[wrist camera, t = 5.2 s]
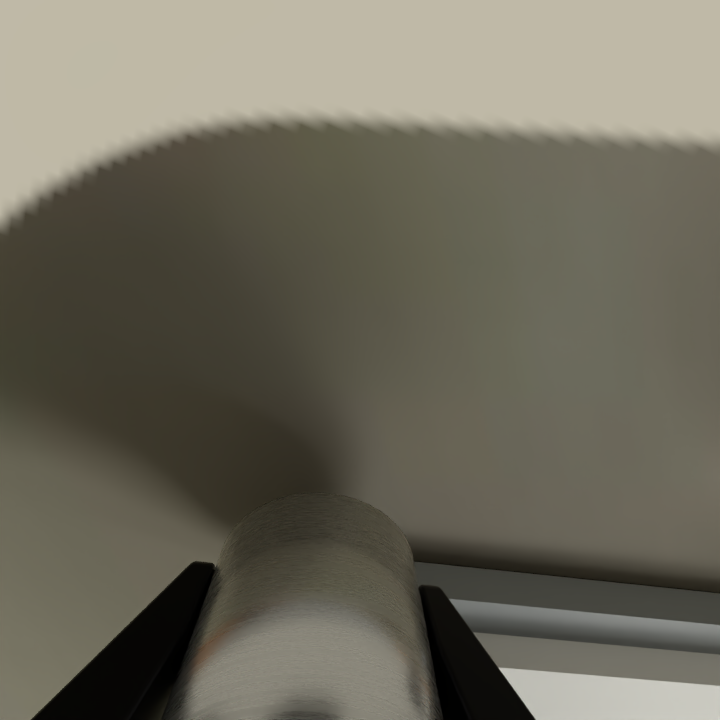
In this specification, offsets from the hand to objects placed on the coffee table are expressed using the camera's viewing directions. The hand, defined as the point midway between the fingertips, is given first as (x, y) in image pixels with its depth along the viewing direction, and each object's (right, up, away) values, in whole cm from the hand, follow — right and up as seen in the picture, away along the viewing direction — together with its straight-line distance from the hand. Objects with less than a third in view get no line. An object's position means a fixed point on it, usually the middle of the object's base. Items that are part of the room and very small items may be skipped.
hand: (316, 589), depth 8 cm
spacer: (0, 0, 0) cm, 0 cm away
